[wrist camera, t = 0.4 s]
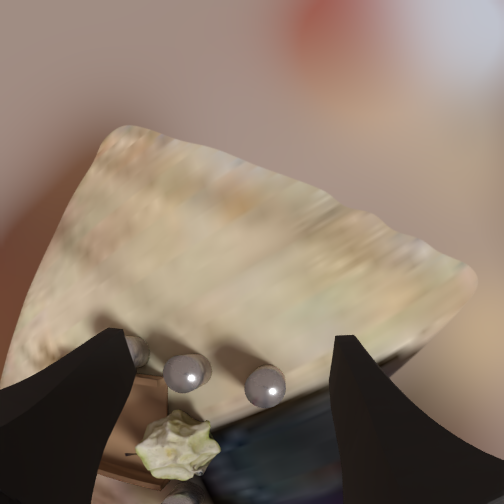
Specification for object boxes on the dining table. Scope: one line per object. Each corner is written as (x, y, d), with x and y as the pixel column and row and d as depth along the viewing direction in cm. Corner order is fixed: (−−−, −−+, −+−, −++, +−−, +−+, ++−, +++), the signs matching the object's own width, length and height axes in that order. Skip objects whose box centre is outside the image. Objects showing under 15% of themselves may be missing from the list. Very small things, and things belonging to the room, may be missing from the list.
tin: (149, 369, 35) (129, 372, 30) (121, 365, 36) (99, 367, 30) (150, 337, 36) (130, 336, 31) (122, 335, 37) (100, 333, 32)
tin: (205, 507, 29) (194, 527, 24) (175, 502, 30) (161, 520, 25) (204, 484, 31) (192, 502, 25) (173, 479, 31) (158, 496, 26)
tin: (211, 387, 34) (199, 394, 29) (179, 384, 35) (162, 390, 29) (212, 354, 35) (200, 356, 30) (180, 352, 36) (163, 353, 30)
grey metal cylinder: (284, 398, 33) (285, 408, 28) (249, 397, 33) (244, 407, 28) (285, 365, 34) (285, 369, 29) (250, 364, 35) (244, 368, 29)
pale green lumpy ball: (148, 457, 32) (115, 468, 25) (168, 396, 36) (137, 397, 28) (213, 486, 30) (191, 506, 23) (236, 423, 33) (217, 432, 26)
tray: (170, 480, 31) (160, 490, 28) (81, 456, 32) (68, 462, 29) (167, 377, 35) (156, 380, 32) (76, 362, 36) (61, 363, 33)
